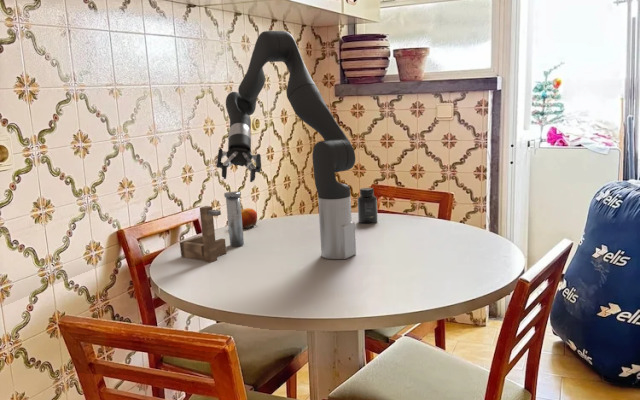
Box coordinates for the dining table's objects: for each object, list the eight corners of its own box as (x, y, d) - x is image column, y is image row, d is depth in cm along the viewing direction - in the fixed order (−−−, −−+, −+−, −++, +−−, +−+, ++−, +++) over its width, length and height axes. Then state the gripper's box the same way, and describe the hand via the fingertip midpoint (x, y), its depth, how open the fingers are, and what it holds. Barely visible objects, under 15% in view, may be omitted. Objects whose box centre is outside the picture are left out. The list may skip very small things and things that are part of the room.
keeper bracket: (241, 255, 168) (236, 202, 165) (220, 263, 160) (214, 209, 157) (201, 249, 177) (196, 199, 174) (180, 257, 170) (174, 205, 167)
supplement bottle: (380, 220, 202) (379, 187, 200) (372, 224, 197) (370, 190, 194) (364, 219, 206) (362, 186, 204) (355, 223, 200) (353, 190, 198)
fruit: (250, 226, 198) (240, 207, 199) (238, 236, 202) (228, 216, 204) (266, 222, 204) (256, 202, 205) (253, 231, 209) (244, 212, 210)
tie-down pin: (248, 243, 180) (244, 191, 177) (237, 248, 176) (233, 194, 173) (236, 242, 183) (232, 191, 180) (225, 246, 179) (220, 194, 176)
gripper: (219, 129, 184) (217, 169, 175) (262, 135, 187) (262, 174, 178) (217, 144, 190) (214, 183, 181) (258, 149, 193) (258, 188, 184)
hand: (238, 179), depth 179 cm, fingers open, 8 cm apart
